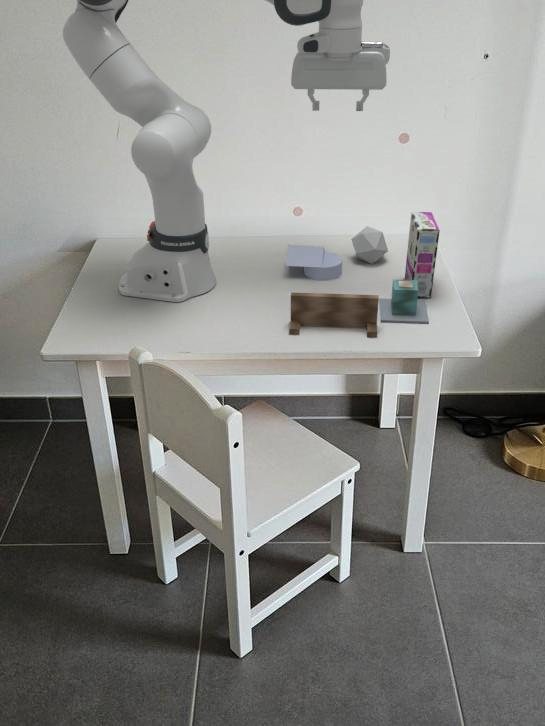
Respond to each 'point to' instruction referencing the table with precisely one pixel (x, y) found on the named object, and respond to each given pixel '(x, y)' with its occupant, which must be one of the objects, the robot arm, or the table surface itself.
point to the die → (369, 244)
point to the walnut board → (334, 311)
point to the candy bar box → (422, 251)
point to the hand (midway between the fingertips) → (337, 110)
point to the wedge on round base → (315, 261)
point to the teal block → (404, 297)
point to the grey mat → (388, 317)
